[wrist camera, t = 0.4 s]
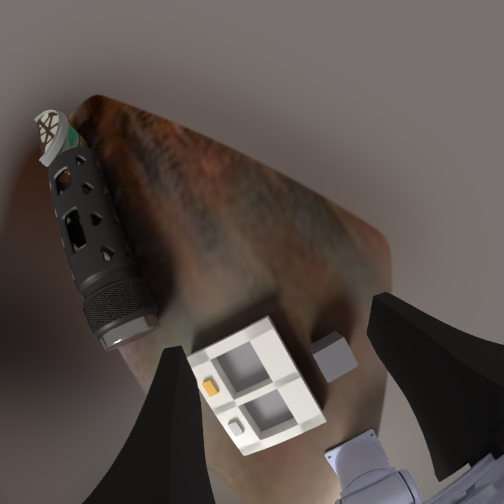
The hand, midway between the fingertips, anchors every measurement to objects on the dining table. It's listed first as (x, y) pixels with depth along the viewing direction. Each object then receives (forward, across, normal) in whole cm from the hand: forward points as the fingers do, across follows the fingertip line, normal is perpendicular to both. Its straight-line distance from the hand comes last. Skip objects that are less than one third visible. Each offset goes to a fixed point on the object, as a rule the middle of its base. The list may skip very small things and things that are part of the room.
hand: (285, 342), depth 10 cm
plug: (+15, -10, +22) cm, 28 cm away
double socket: (+15, 0, +25) cm, 29 cm away
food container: (+46, +24, -7) cm, 52 cm away
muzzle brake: (+32, +17, +8) cm, 37 cm away
